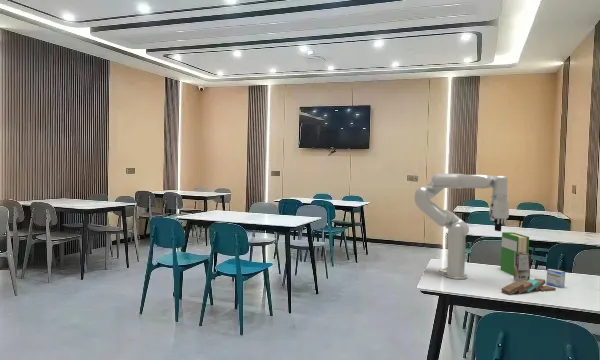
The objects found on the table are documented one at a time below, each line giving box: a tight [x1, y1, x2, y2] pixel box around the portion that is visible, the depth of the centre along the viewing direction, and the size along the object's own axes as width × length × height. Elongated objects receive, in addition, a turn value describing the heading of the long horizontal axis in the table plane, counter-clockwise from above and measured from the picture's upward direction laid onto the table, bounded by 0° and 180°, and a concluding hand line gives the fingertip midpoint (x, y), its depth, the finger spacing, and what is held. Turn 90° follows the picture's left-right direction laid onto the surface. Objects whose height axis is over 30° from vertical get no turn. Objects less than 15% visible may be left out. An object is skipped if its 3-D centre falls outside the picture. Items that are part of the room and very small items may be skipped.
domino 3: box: [532, 277, 546, 292], centre depth 235 cm, size 2×5×10 cm
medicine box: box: [545, 268, 566, 289], centre depth 244 cm, size 8×4×9 cm, turn 36°
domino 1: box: [500, 280, 524, 296], centre depth 226 cm, size 2×5×10 cm
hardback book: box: [500, 231, 530, 277], centre depth 271 cm, size 18×7×24 cm, turn 3°
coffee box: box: [513, 252, 532, 282], centre depth 251 cm, size 9×6×16 cm
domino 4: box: [537, 285, 557, 293], centre depth 235 cm, size 2×5×10 cm
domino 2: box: [513, 281, 533, 295], centre depth 228 cm, size 2×5×10 cm
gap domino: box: [523, 278, 540, 293], centre depth 232 cm, size 2×5×10 cm
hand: (497, 230), depth 245 cm, fingers closed
